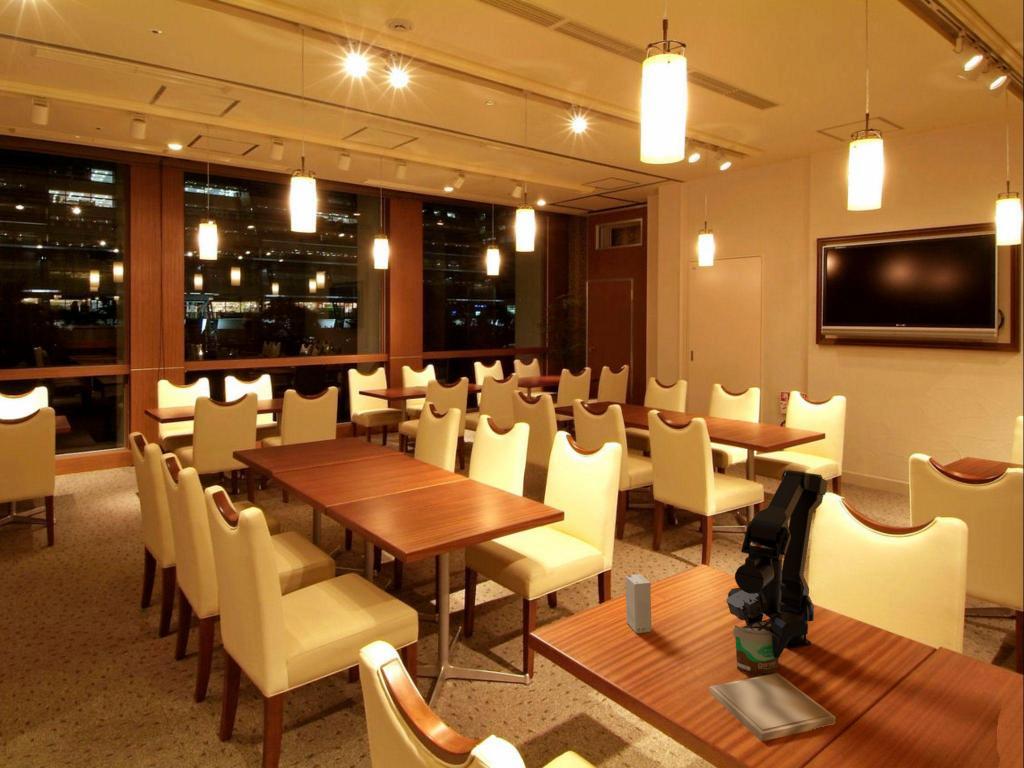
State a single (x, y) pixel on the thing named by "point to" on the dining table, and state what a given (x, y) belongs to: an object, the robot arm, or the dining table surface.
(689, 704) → the dining table surface
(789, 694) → the serving board
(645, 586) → the skincare box
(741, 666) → the food container
